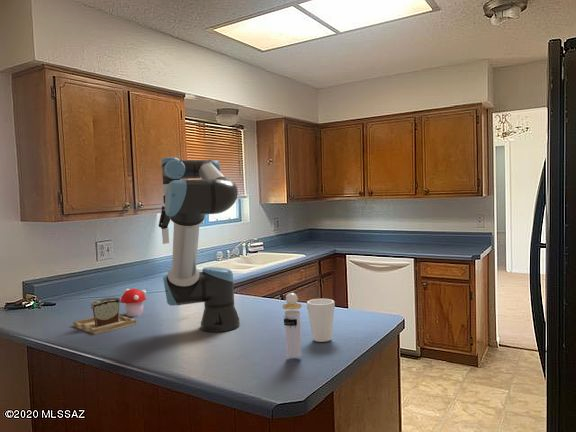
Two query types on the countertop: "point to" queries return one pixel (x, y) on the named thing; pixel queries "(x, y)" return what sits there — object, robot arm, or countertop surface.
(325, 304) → the foam cup
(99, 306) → the brown white half-round block
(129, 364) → the countertop surface
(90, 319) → the tray
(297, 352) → the perfume bottle
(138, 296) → the mushroom
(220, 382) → the countertop surface
